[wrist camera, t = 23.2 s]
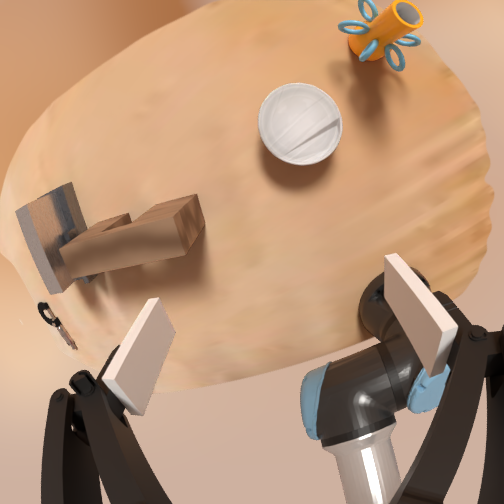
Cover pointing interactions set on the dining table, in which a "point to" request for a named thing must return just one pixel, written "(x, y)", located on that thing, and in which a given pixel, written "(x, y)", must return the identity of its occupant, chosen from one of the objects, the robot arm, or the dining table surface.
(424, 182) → the dining table surface
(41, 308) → the micrometer
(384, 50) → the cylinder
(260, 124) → the ramekin
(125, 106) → the dining table surface
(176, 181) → the dining table surface
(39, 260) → the steel bar
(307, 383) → the robot arm
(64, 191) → the cradle
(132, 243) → the brown notched block
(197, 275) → the dining table surface
